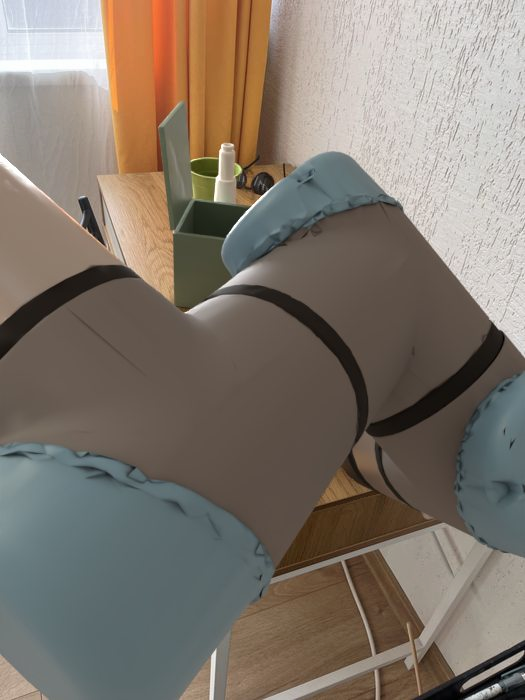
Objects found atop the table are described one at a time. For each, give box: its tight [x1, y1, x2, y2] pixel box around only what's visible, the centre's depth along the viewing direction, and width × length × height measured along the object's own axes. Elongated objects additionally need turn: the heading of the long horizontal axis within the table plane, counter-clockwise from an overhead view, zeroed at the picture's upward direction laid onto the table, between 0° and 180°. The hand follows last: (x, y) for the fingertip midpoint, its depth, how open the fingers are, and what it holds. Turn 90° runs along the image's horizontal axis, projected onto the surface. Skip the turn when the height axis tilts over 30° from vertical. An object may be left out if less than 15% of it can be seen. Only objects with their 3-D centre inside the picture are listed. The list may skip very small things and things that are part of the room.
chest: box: [172, 197, 253, 309], centre depth 91 cm, size 15×14×14 cm
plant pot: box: [190, 157, 243, 201], centre depth 114 cm, size 12×12×11 cm
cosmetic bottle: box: [214, 142, 237, 204], centre depth 98 cm, size 6×6×22 cm
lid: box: [157, 100, 194, 232], centre depth 82 cm, size 15×14×1 cm
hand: (315, 424), depth 55 cm, fingers open, 13 cm apart
